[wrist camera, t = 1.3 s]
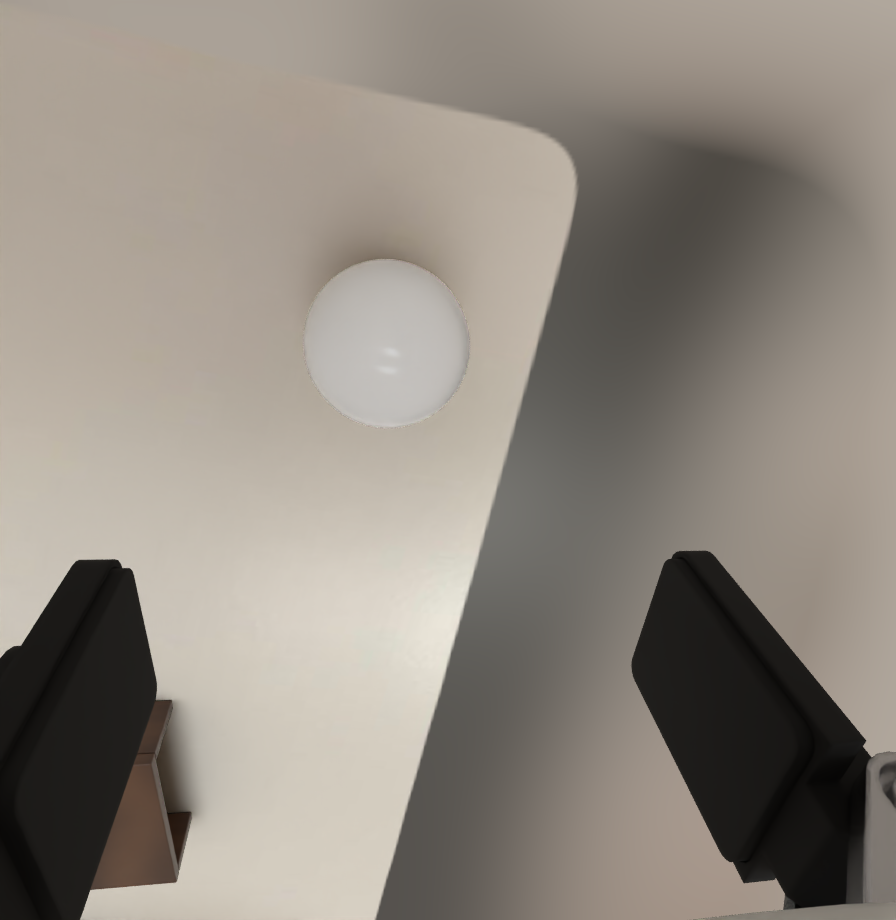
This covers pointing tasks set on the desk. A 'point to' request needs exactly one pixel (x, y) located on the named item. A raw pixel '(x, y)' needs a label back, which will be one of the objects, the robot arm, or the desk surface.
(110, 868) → the brown wooden stand
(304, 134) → the desk surface
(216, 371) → the desk surface
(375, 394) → the lightbulb
